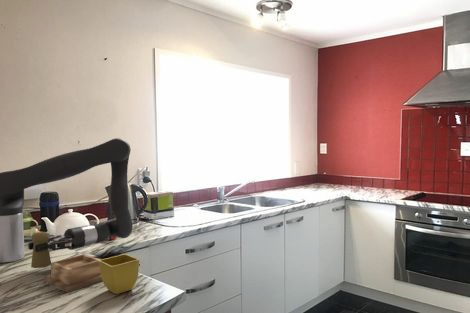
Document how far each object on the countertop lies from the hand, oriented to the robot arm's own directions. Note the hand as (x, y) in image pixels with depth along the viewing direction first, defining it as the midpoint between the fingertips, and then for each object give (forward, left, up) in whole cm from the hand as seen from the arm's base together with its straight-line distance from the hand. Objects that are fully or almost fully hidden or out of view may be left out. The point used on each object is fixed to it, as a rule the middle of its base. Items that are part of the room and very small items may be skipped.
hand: (32, 247), depth 121 cm
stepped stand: (+17, +6, -9) cm, 20 cm away
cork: (0, +3, -7) cm, 7 cm away
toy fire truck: (-21, +42, -9) cm, 48 cm away
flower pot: (+35, +9, -9) cm, 37 cm away
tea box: (-42, +89, -9) cm, 99 cm away
